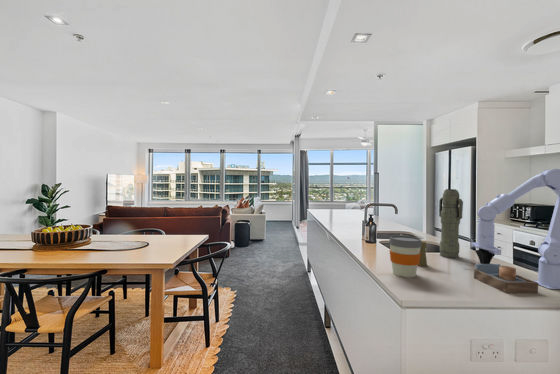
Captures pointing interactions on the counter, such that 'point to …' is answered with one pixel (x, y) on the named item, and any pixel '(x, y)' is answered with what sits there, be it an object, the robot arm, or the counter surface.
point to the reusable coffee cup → (405, 255)
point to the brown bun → (507, 273)
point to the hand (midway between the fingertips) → (484, 268)
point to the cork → (423, 254)
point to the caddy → (507, 283)
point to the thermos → (450, 223)
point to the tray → (493, 271)
